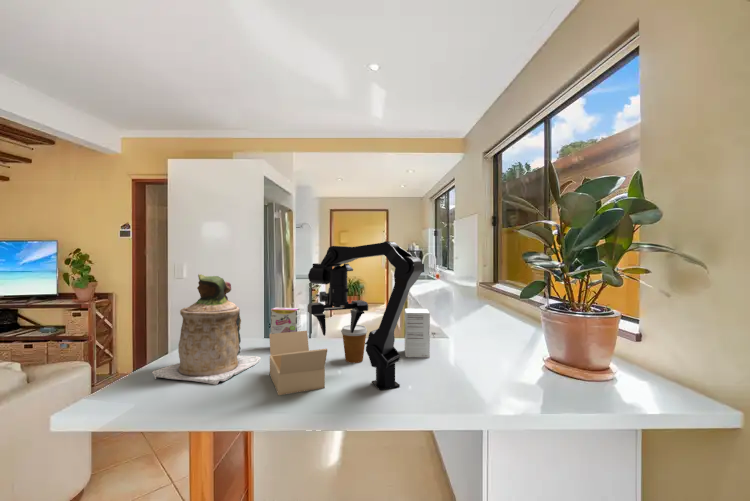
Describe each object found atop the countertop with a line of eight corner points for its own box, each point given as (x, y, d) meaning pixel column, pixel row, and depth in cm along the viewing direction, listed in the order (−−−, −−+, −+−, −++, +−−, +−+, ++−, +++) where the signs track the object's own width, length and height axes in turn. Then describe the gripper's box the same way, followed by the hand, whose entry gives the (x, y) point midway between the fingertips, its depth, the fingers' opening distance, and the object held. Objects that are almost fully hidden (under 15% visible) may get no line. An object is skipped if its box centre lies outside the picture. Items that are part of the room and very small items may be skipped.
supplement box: (404, 350, 141) (404, 308, 141) (427, 350, 140) (427, 308, 141) (405, 357, 131) (405, 312, 131) (430, 357, 131) (430, 312, 131)
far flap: (270, 355, 113) (270, 356, 113) (309, 351, 118) (308, 351, 118) (269, 333, 116) (269, 334, 116) (306, 330, 121) (306, 330, 121)
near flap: (323, 367, 101) (324, 368, 101) (279, 373, 96) (280, 374, 96) (327, 348, 98) (327, 349, 98) (281, 353, 93) (282, 354, 93)
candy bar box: (269, 350, 141) (269, 309, 141) (274, 346, 146) (274, 307, 146) (296, 350, 140) (297, 309, 140) (300, 347, 145) (300, 307, 145)
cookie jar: (220, 386, 103) (220, 276, 103) (148, 380, 108) (149, 275, 108) (263, 361, 127) (263, 272, 127) (203, 356, 132) (203, 271, 132)
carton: (324, 388, 101) (324, 367, 101) (278, 395, 96) (278, 373, 96) (309, 369, 118) (309, 351, 118) (269, 374, 113) (269, 355, 113)
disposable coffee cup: (366, 364, 123) (366, 330, 123) (339, 364, 123) (339, 330, 123) (367, 356, 132) (368, 324, 132) (342, 356, 132) (342, 324, 132)
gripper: (356, 282, 124) (356, 326, 124) (303, 284, 116) (303, 331, 116) (369, 285, 114) (368, 333, 114) (312, 287, 106) (311, 339, 106)
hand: (338, 334), depth 113 cm, fingers open, 9 cm apart
